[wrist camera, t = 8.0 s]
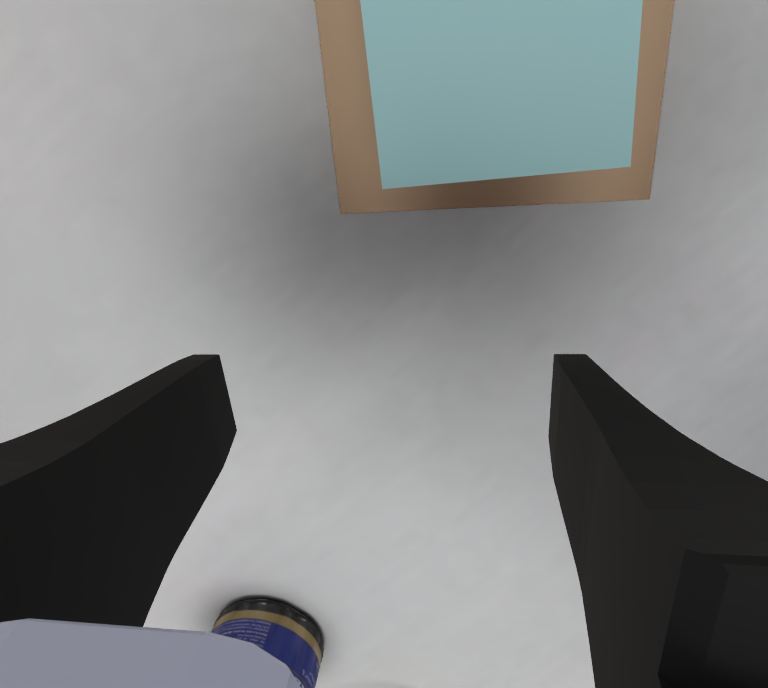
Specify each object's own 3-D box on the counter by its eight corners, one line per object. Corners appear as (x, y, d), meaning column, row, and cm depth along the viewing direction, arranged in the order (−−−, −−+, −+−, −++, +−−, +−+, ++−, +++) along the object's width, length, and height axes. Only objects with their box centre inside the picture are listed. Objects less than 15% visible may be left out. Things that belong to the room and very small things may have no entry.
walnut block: (663, -179, 15) (702, -223, 12) (625, 176, 19) (649, 199, 17) (324, -129, 16) (296, -161, 14) (357, 190, 21) (340, 213, 18)
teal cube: (594, -94, 14) (653, -154, 9) (586, 130, 16) (630, 166, 12) (385, -60, 14) (348, -100, 10) (405, 148, 17) (382, 189, 12)
